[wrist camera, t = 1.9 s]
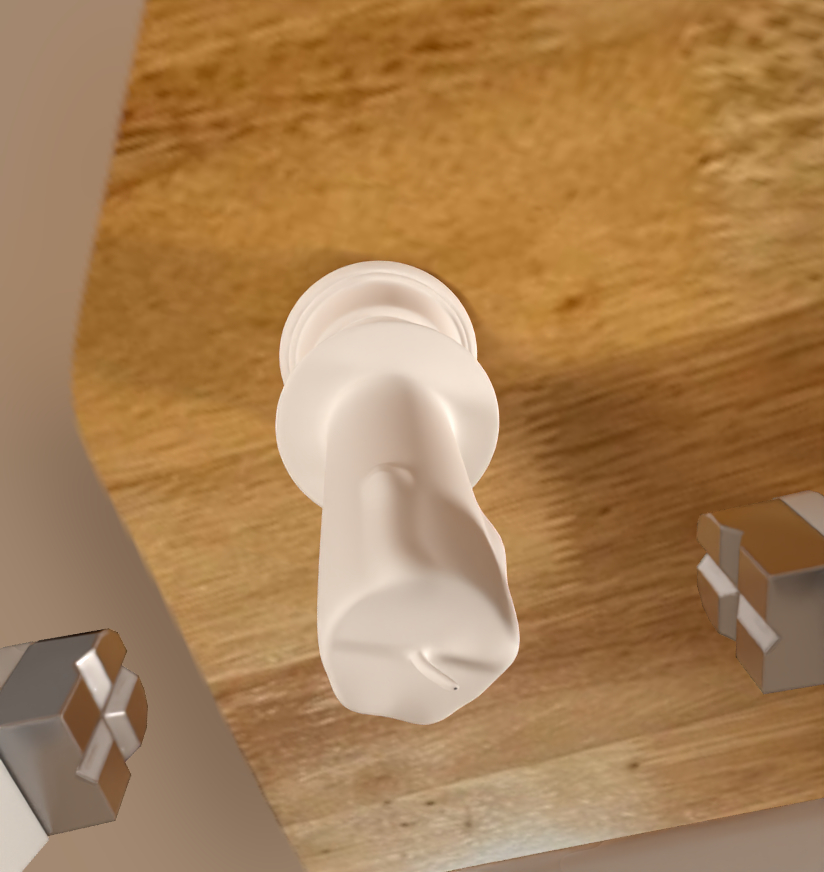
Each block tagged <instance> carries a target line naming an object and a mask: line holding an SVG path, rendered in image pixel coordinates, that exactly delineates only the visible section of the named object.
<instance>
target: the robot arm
mask: <svg viewBox="0 0 824 872" xmlns="http://www.w3.org/2000/svg"><path fill="white" fill-rule="evenodd" d="M697 541H698V542H699V543H700V545H701V546H702V547H703V548H704V549H705V551H706V552H707V553H706V554H705V556H704V557H703V559H702V560H701V561H700V563H699V564H698V566H697V587H698V591H699V595H700V598H701V602H702V606H703V608H704V610H705V612H706V614H707V616H708V618H709V620H710V622H711V623H712V625H713V626H714V627H715V629H716V630H717V632H718V633H719V634H721V635H723V636H725V637H728V638H730V639H732V640H734V641H736V658H737V659H738V660H739V662H740V663H741V665H742V666H743V667H744V669H745V670H746V671H747V673H748V674H749V675H750V677H751V678H752V679H753V681H754V682H755V683H756V685H757V686H758V687H759V689H760V690H761V691H762V693H763V694H768V693H774V692H780V691H786V690H792V689H798V688H804V687H810V686H816V685H822V684H824V496H823V495H821V494H820V493H818V492H814V491H810V490H808V491H803V492H799V493H794V494H790V495H785V496H781V497H777V498H773V499H772V500H767V501H762V502H758V503H753V504H748V505H743V506H738V507H733V508H728V509H724V510H719V511H714V512H709V513H704V514H700V517H699V520H698V523H697ZM126 653H127V650H126V648H125V646H124V644H123V642H122V640H121V638H120V636H119V634H118V632H116V631H113V630H111V629H102V630H97V631H91V632H85V633H79V634H73V635H68V636H62V637H56V638H50V639H44V640H39V641H37V642H28V643H23V644H18V645H12V646H7V647H3V648H1V649H0V872H22V871H23V870H24V868H25V867H26V866H27V865H28V864H29V863H30V861H31V860H32V859H33V858H34V857H35V855H36V854H37V853H38V852H39V851H40V849H41V848H42V847H43V846H44V845H45V844H46V842H47V841H48V840H49V838H48V836H50V835H54V834H58V833H63V832H67V831H72V830H76V829H81V828H85V827H90V826H94V825H99V824H103V823H107V822H112V821H115V820H116V817H117V815H118V812H119V809H120V806H121V803H122V800H123V797H124V794H125V791H126V788H127V785H128V783H129V780H130V777H131V773H130V771H129V769H128V767H127V765H126V763H125V762H126V761H127V760H128V759H129V758H130V757H131V756H132V754H133V753H134V752H135V751H136V750H137V749H138V748H139V747H140V746H141V744H142V741H143V738H144V735H145V731H146V728H147V711H148V705H147V700H146V695H145V690H144V687H143V685H142V683H141V680H140V678H139V676H138V675H137V674H135V673H134V672H132V671H130V670H129V669H127V668H125V667H124V666H122V663H123V660H124V658H125V655H126ZM446 872H824V798H820V799H815V800H810V801H805V802H800V803H794V804H789V805H784V806H779V807H774V808H769V809H764V810H759V811H753V812H748V813H743V814H738V815H733V816H728V817H723V818H718V819H712V820H707V821H702V822H697V823H692V824H687V825H682V826H677V827H671V828H666V829H661V830H656V831H651V832H646V833H641V834H636V835H630V836H625V837H620V838H615V839H610V840H605V841H600V842H595V843H589V844H584V845H579V846H574V847H569V848H564V849H559V850H554V851H548V852H543V853H538V854H533V855H528V856H523V857H518V858H513V859H508V860H503V861H497V862H492V863H487V864H482V865H477V866H472V867H467V868H462V869H457V870H452V871H446Z"/></svg>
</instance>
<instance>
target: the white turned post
mask: <svg viewBox="0 0 824 872" xmlns="http://www.w3.org/2000/svg"><path fill="white" fill-rule="evenodd" d="M279 360H280V370H281V375H282V379H283V383H284V388H283V390H282V393H281V395H280V399H279V402H278V407H277V412H276V439H277V444H278V449H279V452H280V456H281V458H282V461H283V463H284V466H285V468H286V470H287V471H288V473H289V475H290V476H291V478H292V479H293V481H294V482H295V484H296V485H297V486H298V487H299V488H300V490H301V491H302V492H303V493H304V494H305V495H306V496H307V497H309V498H310V499H311V500H312V501H313V502H315V503H316V504H317V505H319V506H320V507H322V508H323V509H322V524H321V539H320V556H319V574H318V600H317V629H318V643H319V650H320V655H321V660H322V663H323V666H324V669H325V671H326V673H327V675H328V678H329V681H330V684H331V687H332V689H333V692H334V694H335V695H336V697H337V699H338V700H339V701H340V703H341V704H342V705H343V706H345V707H346V708H348V709H349V710H351V711H354V712H357V713H361V714H368V715H377V716H384V717H390V718H394V719H398V720H402V721H405V722H409V723H414V724H422V725H426V724H433V723H436V722H439V721H441V720H443V719H445V718H446V717H448V716H449V715H451V714H452V713H454V712H455V711H456V710H458V709H459V708H461V707H462V706H464V705H466V704H468V703H469V702H471V701H472V700H474V699H475V698H477V697H478V696H479V695H481V694H482V693H483V692H484V691H485V690H486V689H487V688H488V687H489V686H490V685H491V684H492V683H493V682H494V681H495V680H496V679H497V678H498V677H499V676H500V675H501V674H502V673H503V672H504V671H505V670H506V669H507V668H508V667H509V666H510V665H511V664H512V662H513V661H514V659H515V658H516V655H517V653H518V649H519V626H518V621H517V616H516V612H515V608H514V605H513V601H512V598H511V595H510V591H509V588H508V582H507V571H506V555H505V549H504V545H503V542H502V539H501V537H500V535H499V533H498V532H497V531H496V529H495V528H494V526H493V525H492V523H491V522H490V521H489V520H488V519H487V517H486V516H485V515H484V514H483V512H482V511H481V509H480V507H479V506H478V503H477V501H476V499H475V496H474V493H473V490H472V488H473V487H474V486H475V485H476V483H477V482H478V481H479V479H480V478H481V477H482V475H483V474H484V472H485V470H486V469H487V467H488V465H489V463H490V461H491V459H492V456H493V453H494V450H495V447H496V443H497V439H498V432H499V410H498V403H497V399H496V395H495V392H494V389H493V386H492V384H491V382H490V380H489V378H488V376H487V374H486V372H485V371H484V369H483V368H482V366H481V365H480V363H479V362H478V361H477V345H476V338H475V333H474V330H473V326H472V324H471V321H470V319H469V316H468V314H467V312H466V310H465V309H464V307H463V305H462V304H461V302H460V301H459V300H458V298H457V297H456V296H455V295H454V294H453V292H452V291H451V290H450V289H449V288H448V287H446V286H445V285H444V284H443V283H442V282H441V281H439V280H438V279H436V278H435V277H433V276H432V275H430V274H428V273H427V272H425V271H423V270H420V269H418V268H416V267H413V266H410V265H406V264H403V263H398V262H391V261H366V262H360V263H355V264H351V265H348V266H345V267H342V268H340V269H337V270H335V271H333V272H331V273H329V274H327V275H326V276H324V277H323V278H321V279H320V280H318V281H317V282H316V283H314V284H313V285H312V286H311V287H310V288H309V289H308V290H307V291H306V292H305V293H304V294H303V295H302V296H301V297H300V299H299V300H298V301H297V303H296V304H295V306H294V307H293V309H292V311H291V312H290V314H289V316H288V318H287V321H286V323H285V326H284V329H283V332H282V337H281V342H280V352H279Z"/></svg>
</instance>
